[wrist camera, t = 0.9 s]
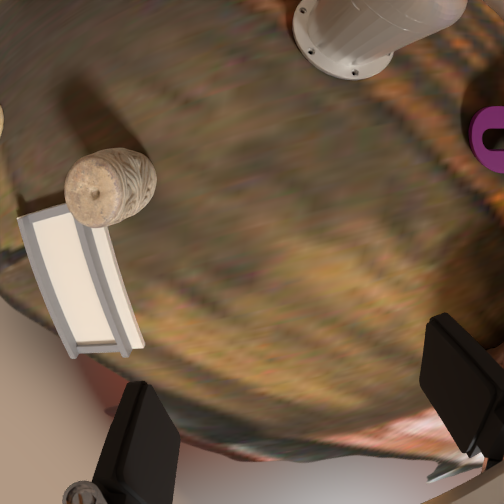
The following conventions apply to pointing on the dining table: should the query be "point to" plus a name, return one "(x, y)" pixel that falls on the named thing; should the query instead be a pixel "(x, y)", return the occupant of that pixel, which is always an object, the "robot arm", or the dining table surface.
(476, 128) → the mounting bracket
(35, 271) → the rail plate
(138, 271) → the dining table surface
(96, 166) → the carving
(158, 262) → the dining table surface
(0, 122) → the hand bell
